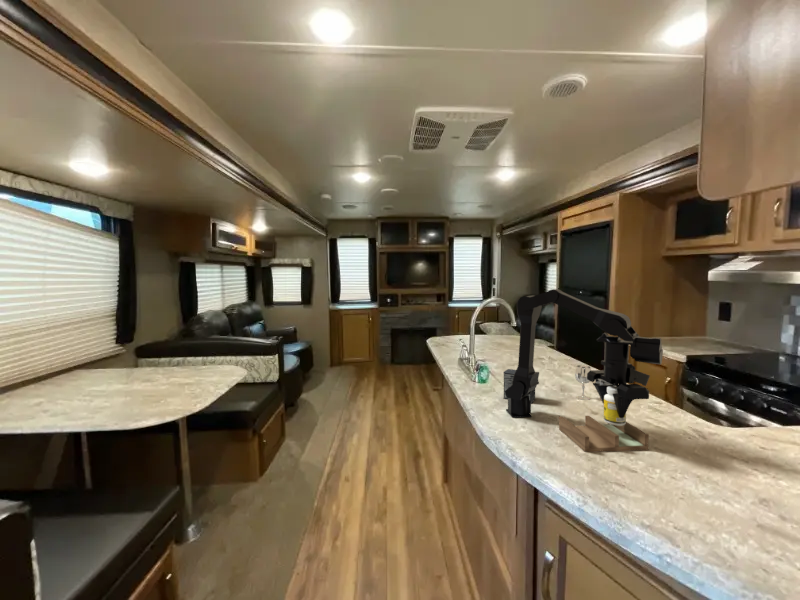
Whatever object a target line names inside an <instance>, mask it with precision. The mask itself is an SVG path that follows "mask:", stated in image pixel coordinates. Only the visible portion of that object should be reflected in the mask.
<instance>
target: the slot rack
mask: <svg viewBox="0 0 800 600" xmlns="http://www.w3.org/2000/svg"><path fill="white" fill-rule="evenodd" d="M584 419H585V422H584V425H574V424H573V423H572V422H570V420H568V419H567V418H565V416H559V417H558V424H559V425H558V429H559V432H561V433H562V434H564V435H565V436H566V437H567V438H568V439H569V440H571V442H573V443H574V444H575V445H576V446H577V447H579V448H580V449H581V450H582V451H583V452H585V453H589V452H591V453H592V452H622V451H648V450H649V437H650V435H649V434H648V433H646V432H644V431H642V430H641V429H639V428H638V427H636V426H635V425H633V424H631V423H629V422H628V421H626V424H625V425H622V426H617V425H611V424H608V423H607V424H602V423H601V422H599V421H597V420H596V419H595V418H593V417H591V416H590V415H585V418H584Z"/></svg>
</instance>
